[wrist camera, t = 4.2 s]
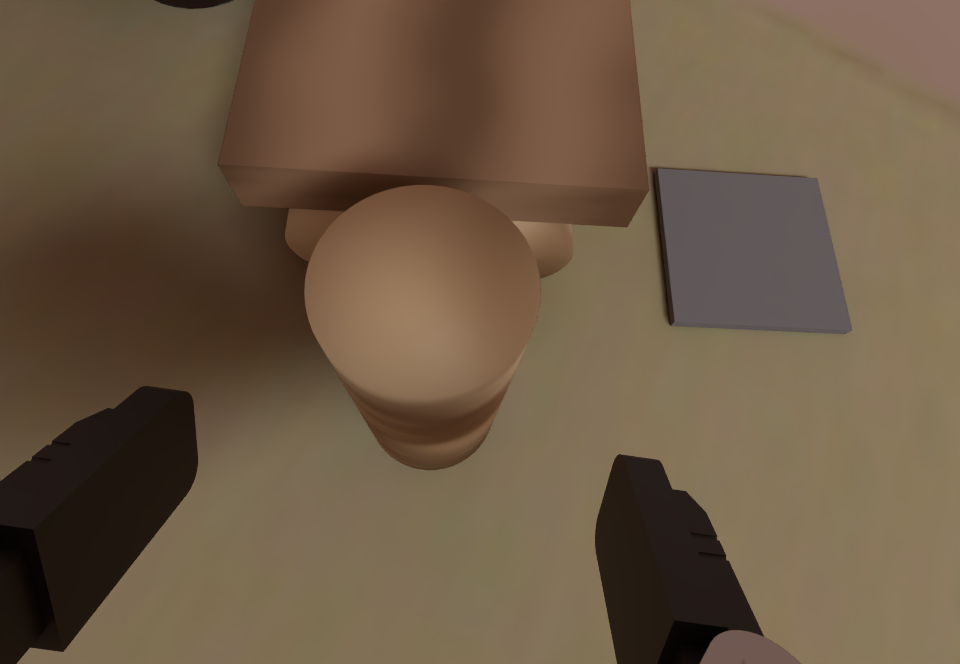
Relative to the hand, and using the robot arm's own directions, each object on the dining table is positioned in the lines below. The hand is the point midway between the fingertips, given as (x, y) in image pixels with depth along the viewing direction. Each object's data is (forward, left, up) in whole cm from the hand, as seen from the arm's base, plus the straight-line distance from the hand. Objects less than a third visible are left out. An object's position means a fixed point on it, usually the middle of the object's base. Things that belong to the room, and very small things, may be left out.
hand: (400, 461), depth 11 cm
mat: (+13, +10, -9) cm, 18 cm away
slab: (0, +13, -9) cm, 16 cm away
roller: (0, +3, -9) cm, 9 cm away
